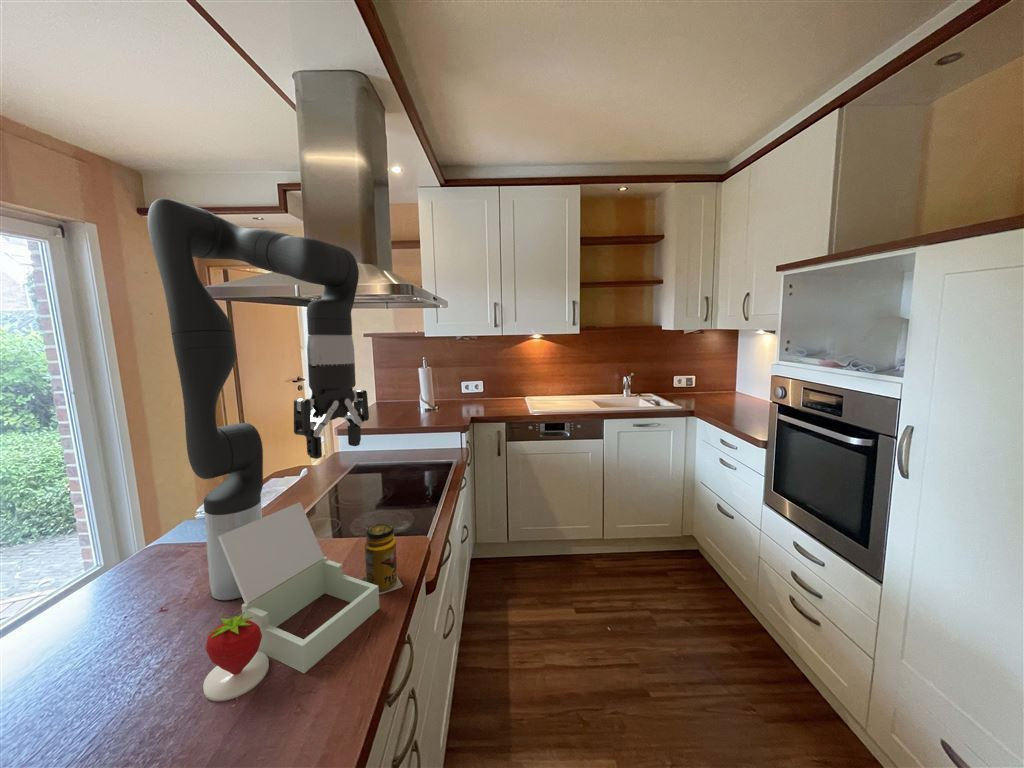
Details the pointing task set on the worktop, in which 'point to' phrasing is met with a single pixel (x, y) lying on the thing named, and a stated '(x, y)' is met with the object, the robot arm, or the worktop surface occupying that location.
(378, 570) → the condiment
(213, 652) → the strawberry
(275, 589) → the cold frame
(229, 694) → the cream white rounded part
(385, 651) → the worktop surface
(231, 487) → the robot arm
